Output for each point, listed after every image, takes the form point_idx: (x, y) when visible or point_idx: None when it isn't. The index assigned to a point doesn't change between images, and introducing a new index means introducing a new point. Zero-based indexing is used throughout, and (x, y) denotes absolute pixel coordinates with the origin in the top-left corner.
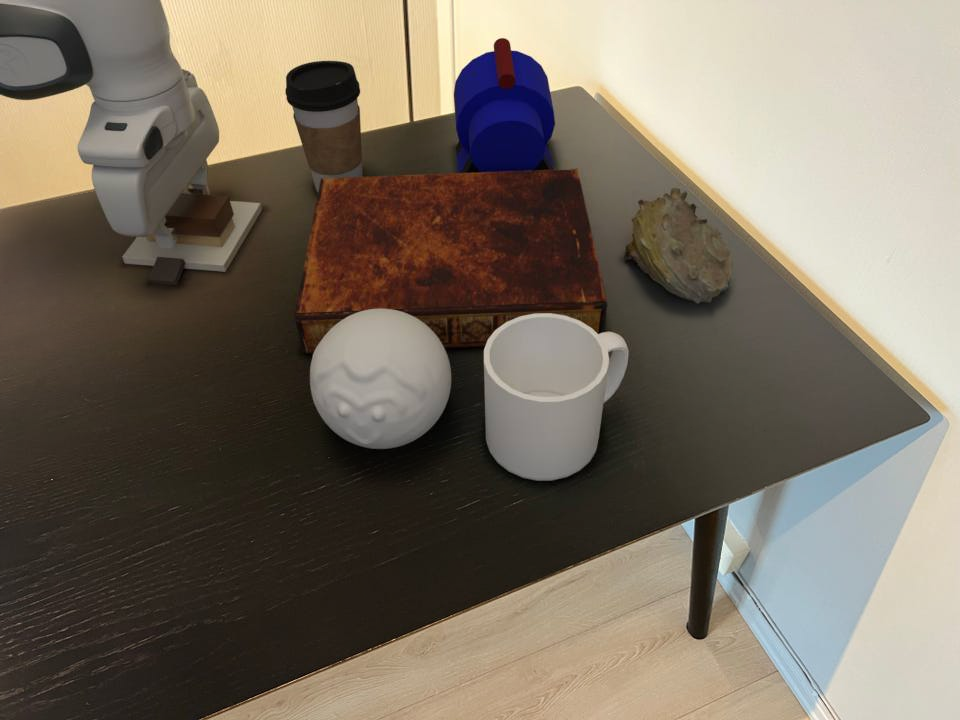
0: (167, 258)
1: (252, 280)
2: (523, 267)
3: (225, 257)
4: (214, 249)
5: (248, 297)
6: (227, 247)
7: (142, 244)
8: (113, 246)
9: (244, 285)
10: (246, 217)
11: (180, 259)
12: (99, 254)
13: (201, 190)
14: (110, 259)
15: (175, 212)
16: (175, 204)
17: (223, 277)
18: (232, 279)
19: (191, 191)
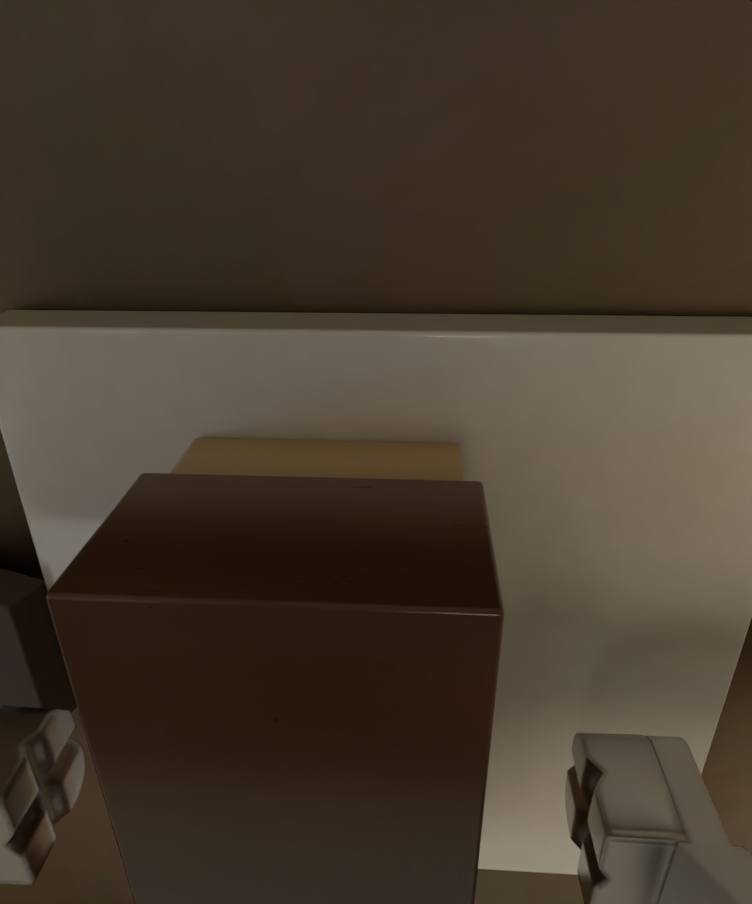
0: (20, 663)
1: (125, 889)
2: None
3: None
4: None
5: (28, 895)
6: None
7: (148, 417)
8: (164, 98)
9: (86, 874)
10: (525, 854)
11: None
12: (32, 20)
13: (584, 900)
14: (12, 164)
15: (182, 885)
16: (294, 860)
17: (104, 805)
18: (104, 834)
19: (592, 823)
